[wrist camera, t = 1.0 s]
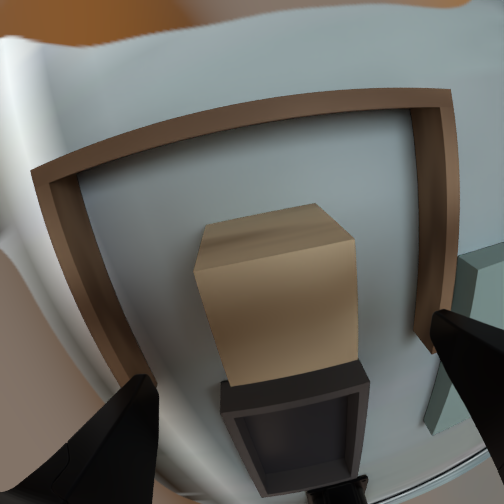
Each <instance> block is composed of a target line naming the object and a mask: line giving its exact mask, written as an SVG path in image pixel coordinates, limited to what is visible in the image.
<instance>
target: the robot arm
mask: <svg viewBox="0 0 504 504" xmlns="http://www.w3.org/2000/svg"><path fill="white" fill-rule="evenodd" d="M429 334H430V339H431V341H432V343H433V345H434V347H435V350H436V352H437V354H438V356H439V358H440V360H441V362H442V365H443V367H444V369H445V371H446V373H447V375H448V377H449V379H450V380H451V382H452V384H453V386H454V387H455V389H456V391H457V392H458V394H459V396H460V398H461V400H462V401H463V403H464V405H465V407H466V408H467V410H468V412H469V414H470V416H471V418H472V420H473V421H474V423H475V425H476V427H477V429H478V431H479V433H480V435H481V437H482V439H483V441H484V443H485V445H486V447H487V449H488V451H489V453H490V455H491V457H492V459H493V461H494V464H495V466H496V468H497V470H498V473H499V475H500V477H501V480H502V482H503V484H504V330H503V329H500V328H497V327H494V326H492V325H489V324H486V323H483V322H480V321H478V320H475V319H472V318H469V317H466V316H464V315H461V314H458V313H455V312H452V311H450V310H447V309H441V310H438V311H435V312H434V313H433V314H432V319H431V326H430V333H429ZM158 439H159V394H158V391H157V389H156V387H155V385H154V383H153V382H152V380H151V378H150V376H149V375H148V374H146V373H143V374H135V375H134V376H133V377H132V378H131V379H130V380H129V381H128V382H127V383H126V384H125V385H124V386H123V387H122V388H121V389H120V390H119V391H118V392H117V393H116V394H115V395H114V396H113V397H112V398H111V399H110V400H109V401H108V402H107V403H106V404H105V405H104V406H103V407H102V408H101V409H100V410H99V411H98V412H97V413H96V414H95V415H94V416H93V417H92V418H91V419H90V420H89V421H88V422H87V423H86V424H85V425H83V427H82V428H81V429H79V430H78V432H76V433H75V434H74V435H73V436H72V437H71V438H70V439H69V440H68V443H65V444H64V445H63V446H62V447H61V448H60V449H59V450H58V451H57V452H56V453H55V454H54V455H53V456H52V457H51V458H50V459H49V460H47V461H46V462H45V463H44V464H43V465H41V466H40V467H39V468H38V469H37V470H35V471H34V472H33V473H32V474H30V475H29V476H28V477H27V478H25V479H24V480H23V481H22V482H20V483H19V484H18V485H17V486H15V487H14V488H12V489H10V490H8V491H5V492H0V504H152V497H153V487H154V476H155V467H156V457H157V449H158ZM367 483H368V477H367V476H363V477H359V478H356V479H353V480H349V481H345V482H342V483H338V484H334V485H330V486H326V487H322V488H317V489H312V490H309V491H307V496H308V502H309V504H368V503H367V500H366V497H365V490H366V487H367Z"/></svg>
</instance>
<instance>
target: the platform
mask: <svg viewBox="0 0 504 504" xmlns="http://www.w3.org/2000/svg"><path fill="white" fill-rule="evenodd" d="M451 311H452V312H455V313H458V314H461V315H464V316H466V317H469V318H472V319H475V320H478V321H480V322H483V323H486V324H489V325H492V326H494V327H497V328H500V329H503V330H504V242H502V243H499V244H496V245H493V246H490V247H486V248H483V249H480V250H477V251H473V252H470V253H467V254H463V255H460V256H458V262H457V272H456V281H455V288H454V296H453V302H452V309H451ZM470 417H471V416H470V414H469V412H468V410H467V408H466V407H465V405H464V403H463V401H462V400H461V398H460V396H459V394H458V392H457V391H456V389H455V387H454V386H453V384H452V382H451V380H450V379H449V377H448V375H447V373H446V371H445V369H444V367H443V365H442V362H440V366H439V370H438V374H437V378H436V381H435V385H434V388H433V392H432V395H431V398H430V402H429V405H428V408H427V411H426V414H425V417H424V422H425V424H426V426H427V428H428V430H429V431H430V433H431V435H432V436H433V435H435V434H438V433H440V432H442V431H444V430H446V429H448V428H450V427H452V426H454V425H456V424H458V423H460V422H462V421H464V420H466V419H468V418H470Z"/></svg>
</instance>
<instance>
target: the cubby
mask: <svg viewBox="0 0 504 504" xmlns="http://www.w3.org/2000/svg"><path fill="white" fill-rule="evenodd" d="M408 108H410V111H411V118H412V125H413V133H414V142H415V152H416V163H417V177H418V195H419V263H418V282H417V296H416V308H415V318H414V326H413V331H414V332H415V333H416V335H417V336H418V337H419V339H420V340H421V341H422V342H423V344H424V345H425V346H426V348H427V349H428V350H429V352H430V353H431V354H434V353H437V352H436V350H435V347H434V345H433V343H432V341H431V339H430V334H429V333H430V326H431V319H432V314H433V313H434V312H435V311H438V310H441V309H447V310H450V311H451V304H452V298H453V290H454V283H455V274H456V265H457V253H458V239H459V215H460V182H459V158H458V144H457V133H456V123H455V115H454V108H453V101H452V94H451V89H435V88H368V89H349V90H335V91H324V92H314V93H305V94H296V95H289V96H281V97H274V98H268V99H262V100H256V101H250V102H245V103H239V104H234V105H229V106H224V107H219V108H215V109H210V110H206V111H201V112H197V113H193V114H189V115H185V116H181V117H177V118H173V119H170V120H166V121H162V122H159V123H155V124H152V125H149V126H145V127H142V128H139V129H136V130H132V131H129V132H126V133H123V134H120V135H117V136H114V137H111V138H108V139H106V140H103V141H100V142H97V143H95V144H92V145H89V146H87V147H84V148H81V149H79V150H76V151H74V152H71V153H69V154H66V155H64V156H62V157H59V158H57V159H55V160H52V161H50V162H48V163H45V164H43V165H41V166H39V167H37V168H34V169H32V170H30V171H31V176H32V180H33V183H34V187H35V191H36V195H37V198H38V202H39V205H40V208H41V212H42V215H43V218H44V221H45V224H46V227H47V230H48V233H49V236H50V239H51V242H52V245H53V248H54V250H55V253H56V256H57V258H58V261H59V264H60V266H61V269H62V271H63V274H64V276H65V279H66V281H67V283H68V286H69V288H70V290H71V293H72V295H73V297H74V300H75V302H76V304H77V306H78V308H79V310H80V313H81V315H82V317H83V319H84V321H85V323H86V325H87V327H88V329H89V331H90V333H91V335H92V337H93V339H94V341H95V343H96V345H97V346H98V348H99V350H100V352H101V354H102V356H103V358H104V359H105V361H106V363H107V365H108V366H109V368H110V370H111V372H112V373H113V375H114V377H115V378H116V380H117V382H118V383H119V385H120V387H121V388H122V387H123V386H124V385H125V384H126V383H127V382H128V381H129V380H130V379H131V378H132V377H133V376H134V375H135V374H143V373H146V374H148V375H149V376H150V378H151V380H152V382H153V383H154V385H155V387H157V381H156V380H155V378H154V376H153V374H152V372H151V370H150V368H149V366H148V364H147V362H146V360H145V358H144V356H143V354H142V352H141V350H140V348H139V346H138V344H137V341H136V339H135V337H134V335H133V333H132V331H131V329H130V326H129V324H128V322H127V320H126V317H125V315H124V313H123V310H122V308H121V306H120V303H119V301H118V298H117V296H116V294H115V291H114V289H113V286H112V284H111V281H110V278H109V276H108V273H107V271H106V268H105V265H104V263H103V260H102V257H101V254H100V251H99V249H98V246H97V243H96V240H95V237H94V234H93V231H92V228H91V225H90V221H89V218H88V215H87V212H86V208H85V205H84V202H83V198H82V195H81V191H80V187H79V184H78V180H77V176H76V173H79V172H81V171H84V170H87V169H90V168H92V167H95V166H98V165H101V164H104V163H107V162H110V161H113V160H116V159H119V158H122V157H126V156H129V155H132V154H135V153H139V152H142V151H145V150H149V149H152V148H156V147H159V146H163V145H167V144H171V143H174V142H178V141H182V140H186V139H190V138H194V137H198V136H203V135H207V134H212V133H216V132H221V131H225V130H230V129H235V128H240V127H245V126H251V125H256V124H262V123H268V122H274V121H280V120H286V119H293V118H300V117H308V116H316V115H324V114H333V113H343V112H355V111H368V110H384V109H408Z"/></svg>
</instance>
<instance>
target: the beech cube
mask: <svg viewBox="0 0 504 504" xmlns="http://www.w3.org/2000/svg"><path fill="white" fill-rule="evenodd" d="M193 273H194V276H195V279H196V283H197V286H198V289H199V293H200V296H201V299H202V302H203V306H204V309H205V312H206V315H207V318H208V321H209V325H210V328H211V331H212V334H213V337H214V340H215V343H216V346H217V349H218V352H219V355H220V358H221V361H222V364H223V366H224V369H225V372H226V375H227V378H228V381H229V384H230V386H231V387H232V386H238V385H244V384H251V383H256V382H262V381H267V380H273V379H278V378H283V377H288V376H293V375H297V374H302V373H306V372H311V371H315V370H319V369H324V368H328V367H332V366H336V365H339V364H343V363H347V362H351V361H354V360H358V294H357V269H356V251H355V239H354V238H353V237H352V236H351V235H350V234H349V233H348V232H347V231H346V230H344V229H343V228H342V227H341V226H340V225H339V224H338V223H337V222H336V221H335V220H334V219H332V218H331V217H330V216H329V215H328V214H327V213H326V212H325V211H324V210H322V209H321V208H320V207H319V206H318V205H317V204H316V203H314V204H308V205H303V206H297V207H292V208H287V209H282V210H277V211H271V212H266V213H261V214H256V215H251V216H246V217H241V218H237V219H232V220H227V221H222V222H217V223H213V224H208V225H206V226H205V230H204V234H203V237H202V241H201V244H200V248H199V252H198V256H197V259H196V263H195V267H194V271H193Z"/></svg>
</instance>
